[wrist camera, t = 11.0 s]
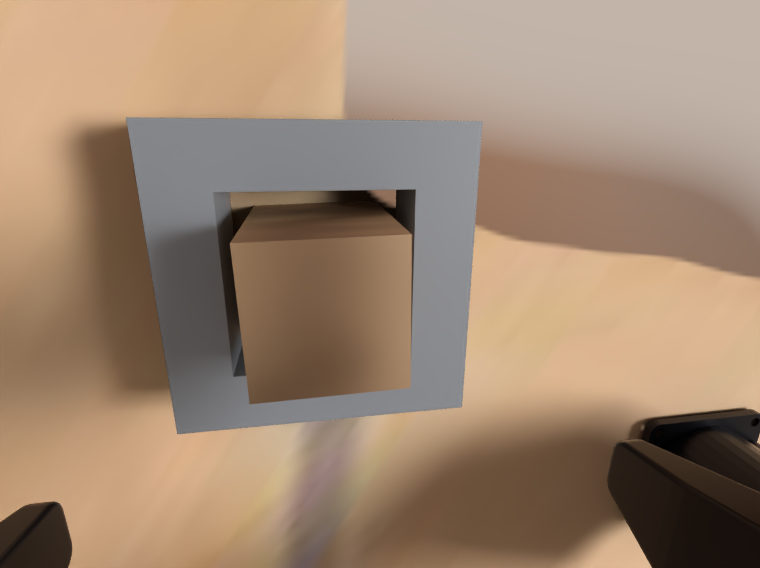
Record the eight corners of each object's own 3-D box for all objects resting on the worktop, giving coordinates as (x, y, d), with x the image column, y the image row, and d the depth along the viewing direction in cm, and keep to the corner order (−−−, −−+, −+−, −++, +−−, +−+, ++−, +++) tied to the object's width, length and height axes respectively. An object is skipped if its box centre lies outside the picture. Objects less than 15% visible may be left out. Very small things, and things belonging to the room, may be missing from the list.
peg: (374, 201, 17) (411, 234, 11) (376, 310, 18) (410, 387, 13) (254, 205, 16) (229, 243, 11) (265, 318, 18) (249, 404, 12)
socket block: (451, 123, 16) (482, 121, 14) (438, 367, 20) (461, 407, 17) (158, 120, 15) (126, 117, 12) (196, 387, 18) (177, 434, 15)
